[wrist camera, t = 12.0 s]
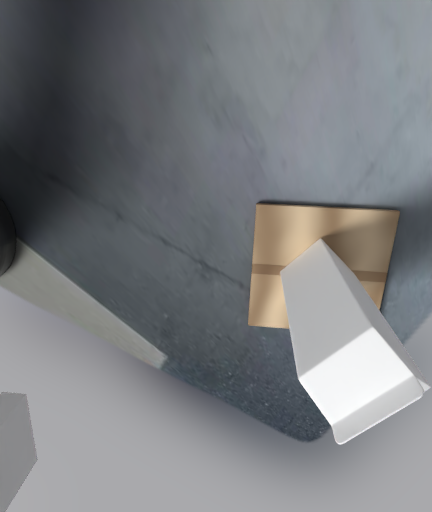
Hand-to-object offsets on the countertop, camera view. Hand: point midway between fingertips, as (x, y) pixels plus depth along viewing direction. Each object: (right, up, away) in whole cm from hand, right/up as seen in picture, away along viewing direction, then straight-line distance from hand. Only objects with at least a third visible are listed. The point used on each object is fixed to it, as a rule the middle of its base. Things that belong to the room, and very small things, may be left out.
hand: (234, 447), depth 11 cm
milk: (+11, +4, +30) cm, 32 cm away
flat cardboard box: (+11, +4, +30) cm, 33 cm away
